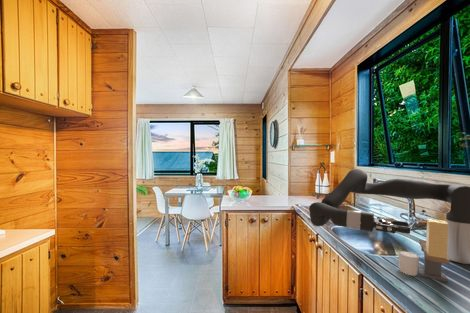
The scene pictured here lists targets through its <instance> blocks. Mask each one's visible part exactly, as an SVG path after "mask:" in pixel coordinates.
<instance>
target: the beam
mask: <svg viewBox="0 0 470 313" xmlns="http://www.w3.org/2000/svg"><path fill="white" fill-rule="evenodd" d="M418 243H419V245H420V248H421V249H420V250H421V252H423V255H424V254H425V257H426V259H427V260H429V261H434V262H439V263H442V264H445V265H450V264H451V260H449V258H448V257H447V259H443V258H438V257H432V256H428V254H427V252H426V240H423V239H419V242H418Z"/></svg>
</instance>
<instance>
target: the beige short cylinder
mask: <svg viewBox="0 0 470 313" xmlns="http://www.w3.org/2000/svg"><path fill="white" fill-rule="evenodd" d="M397 254H398V268H399V269H398V270H399V272H400V273H402V272H403V274H404V273H405V274H404V275H407V274H408V275H409V276H418V273H419V272H418V268H419V265H420V258H421V256H420V255H419V254H417V253H415V252H411V251H406V250H399V251H397Z"/></svg>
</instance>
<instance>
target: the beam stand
mask: <svg viewBox="0 0 470 313" xmlns="http://www.w3.org/2000/svg"><path fill="white" fill-rule="evenodd" d="M442 265H443V263H439V262H434V261H429V260H427V259H426V257H425V254H424V253H423V268H420V267H418V272H417V273H418V275H419V276H420V277H423V278H429V279H433V280H438V281H442V282H447V283H448V277H447V276H446V274H445V273H443V272H442Z"/></svg>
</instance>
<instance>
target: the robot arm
mask: <svg viewBox="0 0 470 313" xmlns="http://www.w3.org/2000/svg"><path fill="white" fill-rule="evenodd" d="M350 193H353V194H359V195H361V194H362V195H375V196H376V195H377V196H387V197H394V198H402V199H410V200H429V199H430V200H436V201H442V202H446V203H450V208H449V211H448V212H446V214H445V221H446V222H447V223H448V242H447V257H448V258H449V260H450V261H451V262H454V263H455V262H456V263H460V264H464V265H470V186H468V185H464V184H458V183H449V184H447V183H432V182H427V181H424V180H418V179H417V180H416V179H412V178H402V177H395V178H389V179H387V180H384V181H379V182H368V174H367V172H365V171H364V170H362V169H359V168H354V169H351V170H350V171H348V172H347V173H346V175H345V177H344V178H343V179H342V180H341V182H339V184H338V185H337V186H336V187H335V188H334V189H332V191H331V192H329V194H327V195H326V196H325V197H324V198H323V199H322V200H321V202H320V201H317V202H313V203H311V204H310V205H309V208H308V210H309V217H310V223H312V225H313V226H316V227H322V226H324V225H326V224H327V223H328V222H329V221H330V220H331V222H332V223H333V225H334V226H338V227H344V228H348V229H352V230H358V231H363V232H369V233H373V231H374V228H375V230H376V231H377V232H384V233H390V234H396V233H400V234H401V233H402V234H411V227H410V226H409V222H408V221H402V220H396V219H395V218H392V217H383V216H377V217H376V218H375V215H374V212H372V211H371V212H370V211H369V212H368V211H363V210H362V211H361V210H353V209H351V210H349V209H342V208H339V207H341V206H342V205H343V203H344V202H345V201H346V199H347V198H348V196H349V194H350Z"/></svg>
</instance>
